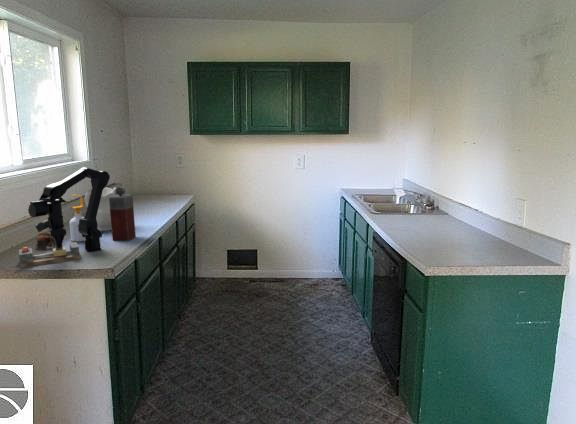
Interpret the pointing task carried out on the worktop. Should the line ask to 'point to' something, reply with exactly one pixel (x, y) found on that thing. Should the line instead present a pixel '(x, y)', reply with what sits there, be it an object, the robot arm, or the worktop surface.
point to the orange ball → (25, 249)
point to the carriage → (59, 250)
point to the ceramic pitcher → (103, 208)
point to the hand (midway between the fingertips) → (59, 246)
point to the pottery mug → (44, 241)
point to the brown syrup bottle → (122, 216)
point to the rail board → (48, 256)
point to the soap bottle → (76, 222)
